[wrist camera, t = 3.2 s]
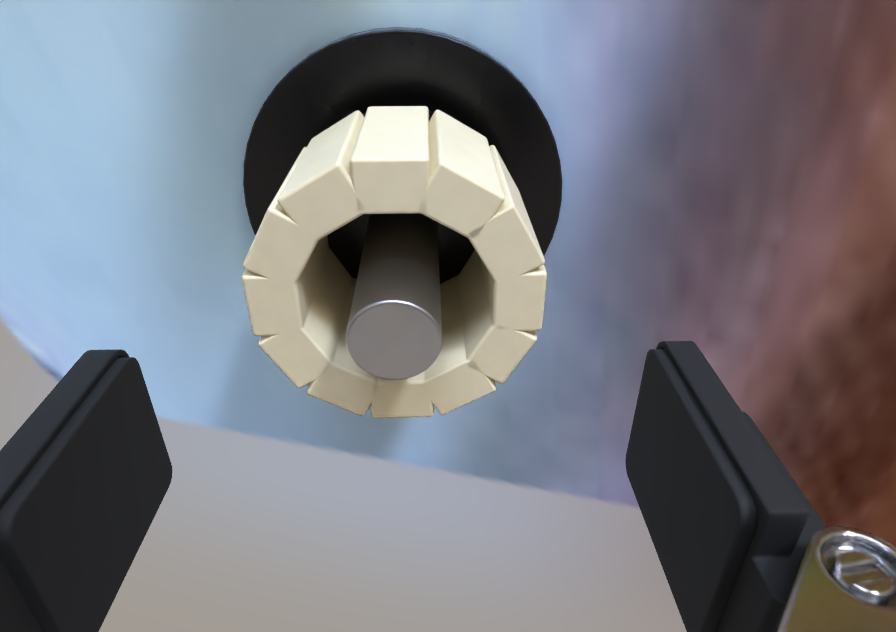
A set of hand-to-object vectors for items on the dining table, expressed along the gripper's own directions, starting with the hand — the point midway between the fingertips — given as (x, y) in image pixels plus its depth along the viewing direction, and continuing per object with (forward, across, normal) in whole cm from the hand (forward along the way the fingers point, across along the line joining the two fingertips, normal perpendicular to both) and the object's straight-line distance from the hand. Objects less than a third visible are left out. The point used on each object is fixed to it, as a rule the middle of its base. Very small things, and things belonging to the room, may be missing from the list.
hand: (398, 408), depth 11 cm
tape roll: (+8, 0, 0) cm, 8 cm away
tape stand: (+10, 0, 0) cm, 10 cm away
